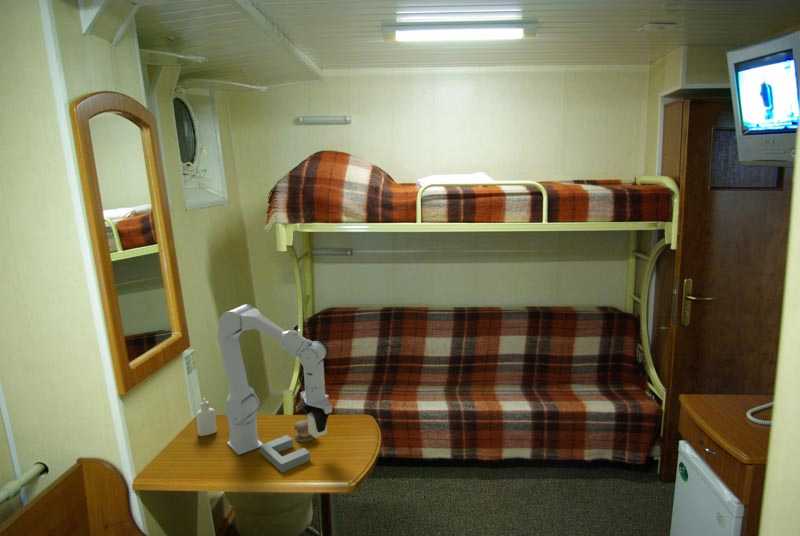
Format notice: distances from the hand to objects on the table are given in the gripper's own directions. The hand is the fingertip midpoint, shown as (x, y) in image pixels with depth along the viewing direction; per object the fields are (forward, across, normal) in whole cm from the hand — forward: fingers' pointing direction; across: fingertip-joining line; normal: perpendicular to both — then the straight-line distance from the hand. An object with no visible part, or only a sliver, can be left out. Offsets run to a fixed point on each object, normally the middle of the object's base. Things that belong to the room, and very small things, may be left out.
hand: (317, 428), depth 143 cm
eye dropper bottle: (+9, +37, +20) cm, 43 cm away
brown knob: (+8, +12, -2) cm, 15 cm away
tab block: (+2, 0, 0) cm, 2 cm away
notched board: (+8, +6, +8) cm, 13 cm away
